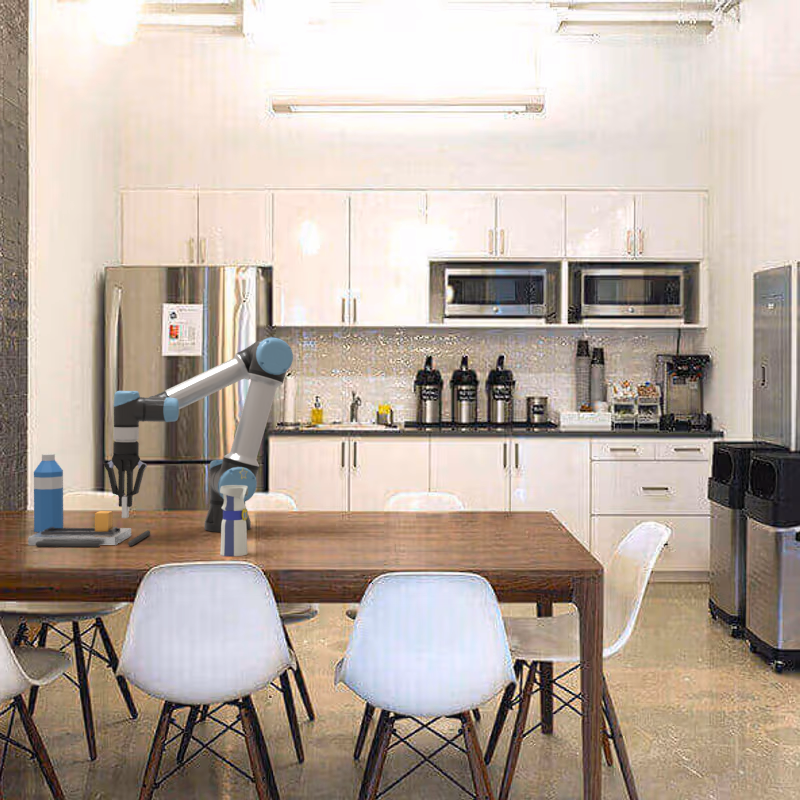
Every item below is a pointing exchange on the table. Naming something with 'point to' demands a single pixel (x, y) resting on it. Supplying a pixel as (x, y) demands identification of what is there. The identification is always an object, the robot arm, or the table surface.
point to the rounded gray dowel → (139, 538)
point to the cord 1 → (66, 544)
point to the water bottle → (48, 494)
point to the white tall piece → (234, 519)
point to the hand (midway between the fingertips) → (125, 517)
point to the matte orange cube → (103, 520)
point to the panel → (81, 535)
